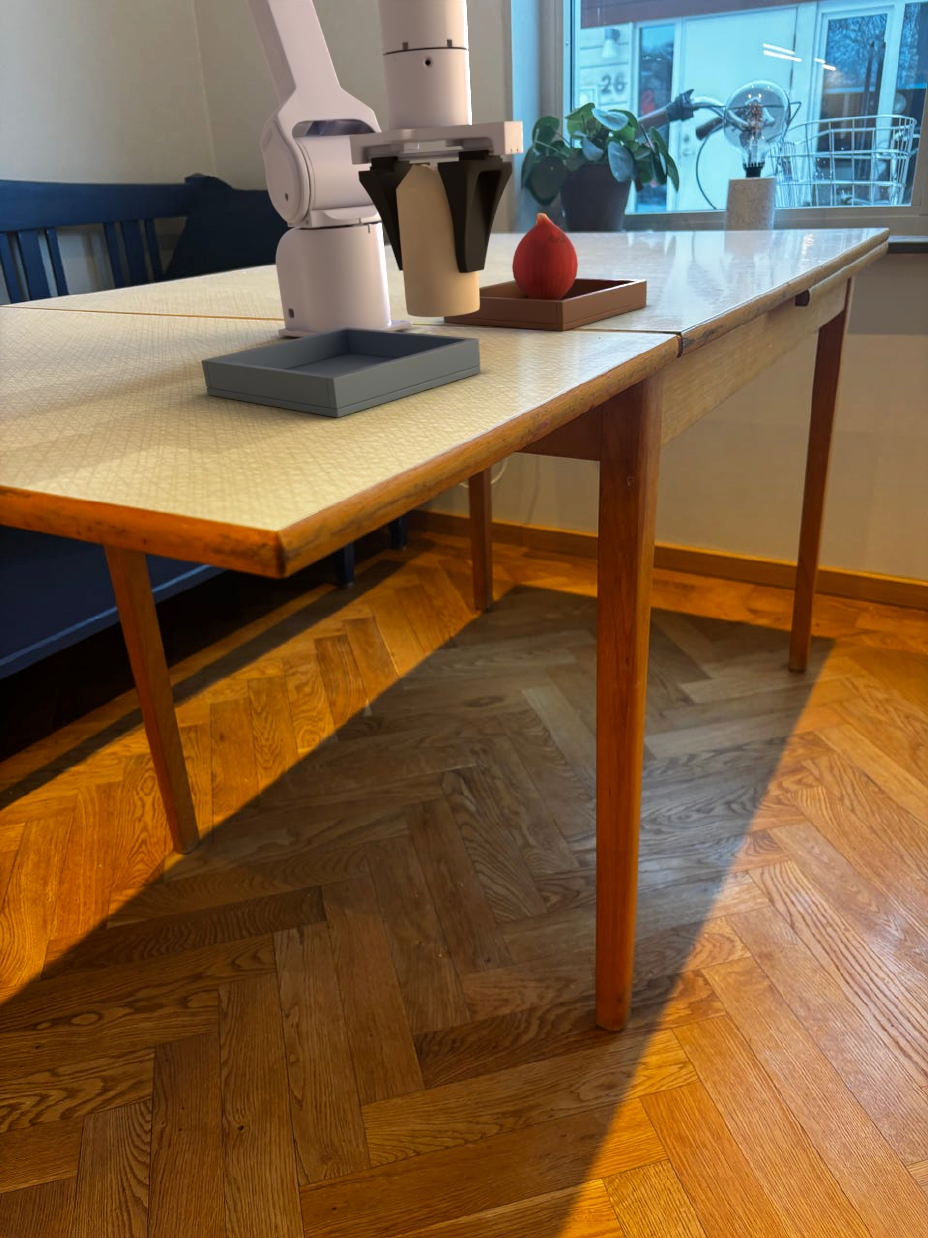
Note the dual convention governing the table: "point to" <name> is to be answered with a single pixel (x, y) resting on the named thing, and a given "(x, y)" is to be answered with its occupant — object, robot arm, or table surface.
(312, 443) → the table surface
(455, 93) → the robot arm
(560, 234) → the onion
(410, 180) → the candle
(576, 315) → the walnut tray
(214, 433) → the table surface
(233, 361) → the gray tray
